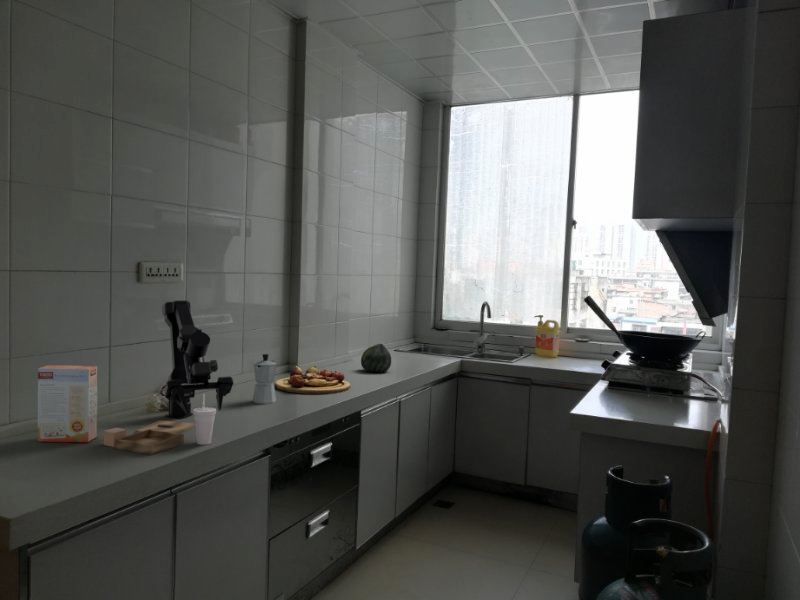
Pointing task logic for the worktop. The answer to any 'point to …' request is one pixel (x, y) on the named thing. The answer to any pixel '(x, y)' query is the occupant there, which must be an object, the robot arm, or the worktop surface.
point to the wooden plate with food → (313, 382)
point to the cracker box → (67, 403)
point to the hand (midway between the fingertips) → (203, 411)
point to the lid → (168, 426)
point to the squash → (376, 358)
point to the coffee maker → (264, 381)
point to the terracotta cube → (113, 436)
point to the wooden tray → (149, 441)
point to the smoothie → (204, 423)
